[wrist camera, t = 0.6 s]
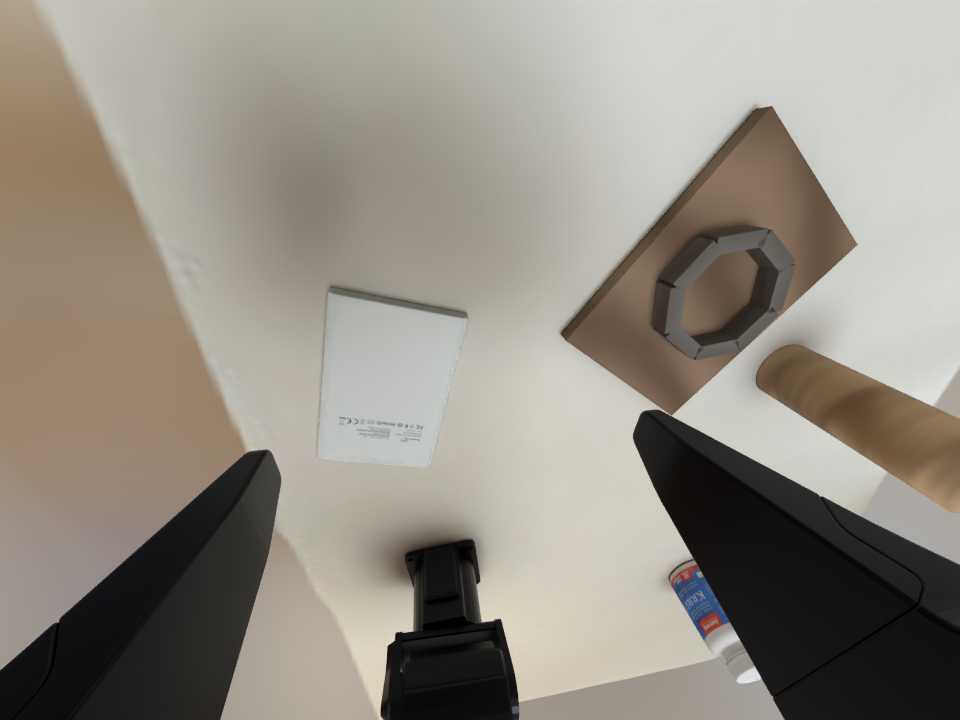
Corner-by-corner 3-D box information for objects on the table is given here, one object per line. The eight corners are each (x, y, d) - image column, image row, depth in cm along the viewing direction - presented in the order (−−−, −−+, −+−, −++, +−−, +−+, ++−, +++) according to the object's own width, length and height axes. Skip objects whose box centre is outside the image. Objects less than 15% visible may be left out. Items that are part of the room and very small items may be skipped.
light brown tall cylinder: (796, 387, 30) (999, 504, 19) (749, 395, 30) (929, 519, 19) (816, 340, 28) (1055, 444, 17) (765, 349, 27) (978, 459, 17)
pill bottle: (676, 560, 40) (744, 664, 32) (717, 555, 41) (794, 655, 33) (661, 588, 43) (721, 691, 34) (700, 583, 44) (768, 682, 35)
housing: (663, 408, 29) (683, 427, 27) (560, 334, 24) (574, 350, 22) (841, 241, 24) (883, 249, 22) (755, 109, 19) (798, 101, 17)
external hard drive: (466, 310, 23) (429, 454, 28) (332, 284, 21) (320, 445, 26) (469, 319, 21) (430, 469, 27) (326, 292, 19) (314, 461, 25)
